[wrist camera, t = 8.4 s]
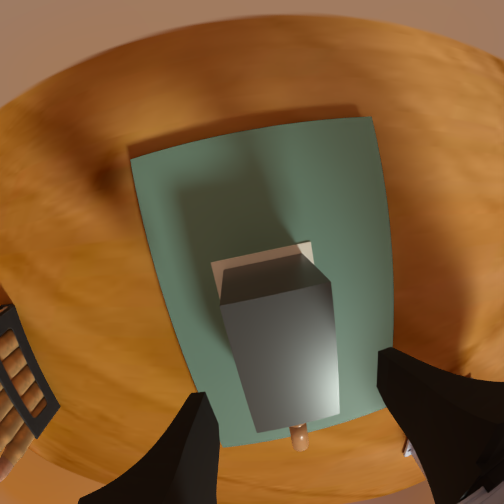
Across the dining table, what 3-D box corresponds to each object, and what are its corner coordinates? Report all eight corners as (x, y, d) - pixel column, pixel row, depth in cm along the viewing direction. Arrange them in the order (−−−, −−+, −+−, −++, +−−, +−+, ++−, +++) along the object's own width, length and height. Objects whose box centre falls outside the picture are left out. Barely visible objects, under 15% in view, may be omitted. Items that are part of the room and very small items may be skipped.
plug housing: (320, 401, 18) (339, 450, 13) (261, 414, 18) (268, 466, 13) (302, 252, 16) (330, 281, 11) (223, 269, 16) (219, 305, 11)
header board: (382, 400, 20) (398, 425, 17) (223, 439, 20) (222, 470, 17) (364, 119, 15) (392, 107, 12) (136, 160, 15) (112, 155, 12)
